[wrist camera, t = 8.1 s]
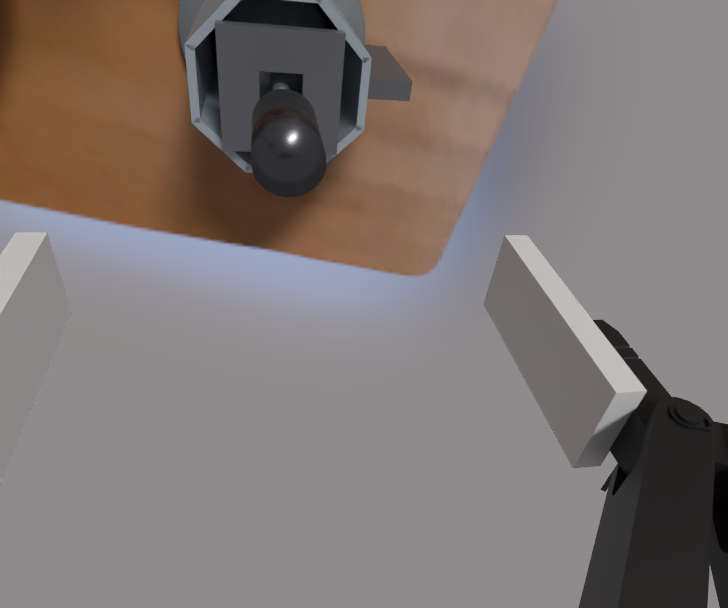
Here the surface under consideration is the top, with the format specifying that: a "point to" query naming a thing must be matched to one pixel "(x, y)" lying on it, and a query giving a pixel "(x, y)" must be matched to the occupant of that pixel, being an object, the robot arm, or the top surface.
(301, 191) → the plunger
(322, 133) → the carafe
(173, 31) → the top surface
